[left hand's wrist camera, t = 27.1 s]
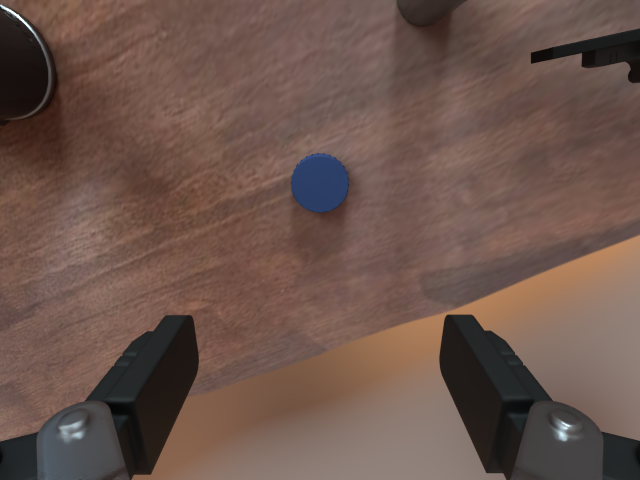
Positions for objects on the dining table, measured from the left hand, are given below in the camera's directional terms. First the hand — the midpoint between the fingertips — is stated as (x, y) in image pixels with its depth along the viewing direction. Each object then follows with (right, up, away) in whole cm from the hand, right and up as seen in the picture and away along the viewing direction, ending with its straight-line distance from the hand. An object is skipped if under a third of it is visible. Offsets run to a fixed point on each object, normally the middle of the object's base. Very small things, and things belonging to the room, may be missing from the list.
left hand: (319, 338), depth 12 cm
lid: (0, +9, +23) cm, 25 cm away
